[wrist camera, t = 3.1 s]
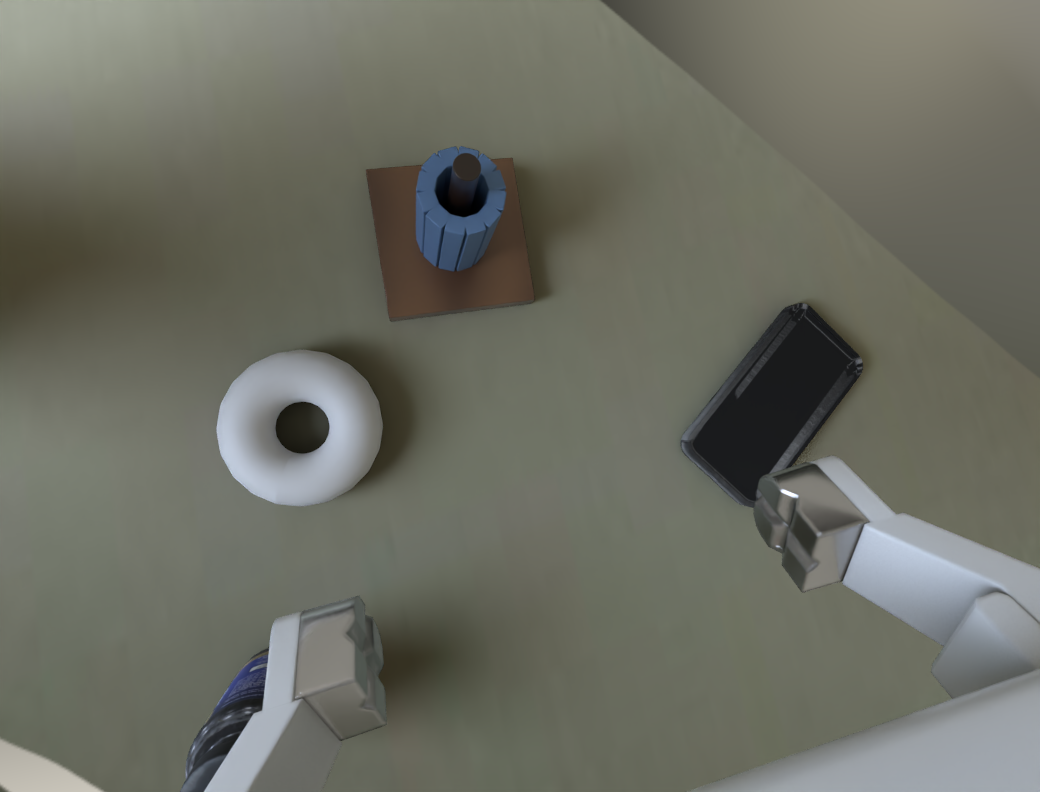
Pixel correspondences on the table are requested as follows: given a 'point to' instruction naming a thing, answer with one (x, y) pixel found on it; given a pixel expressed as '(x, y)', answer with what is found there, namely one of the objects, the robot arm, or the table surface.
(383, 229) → the dowel stand
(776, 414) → the phone
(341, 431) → the donut
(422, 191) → the tube
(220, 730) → the pill bottle
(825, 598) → the table surface
